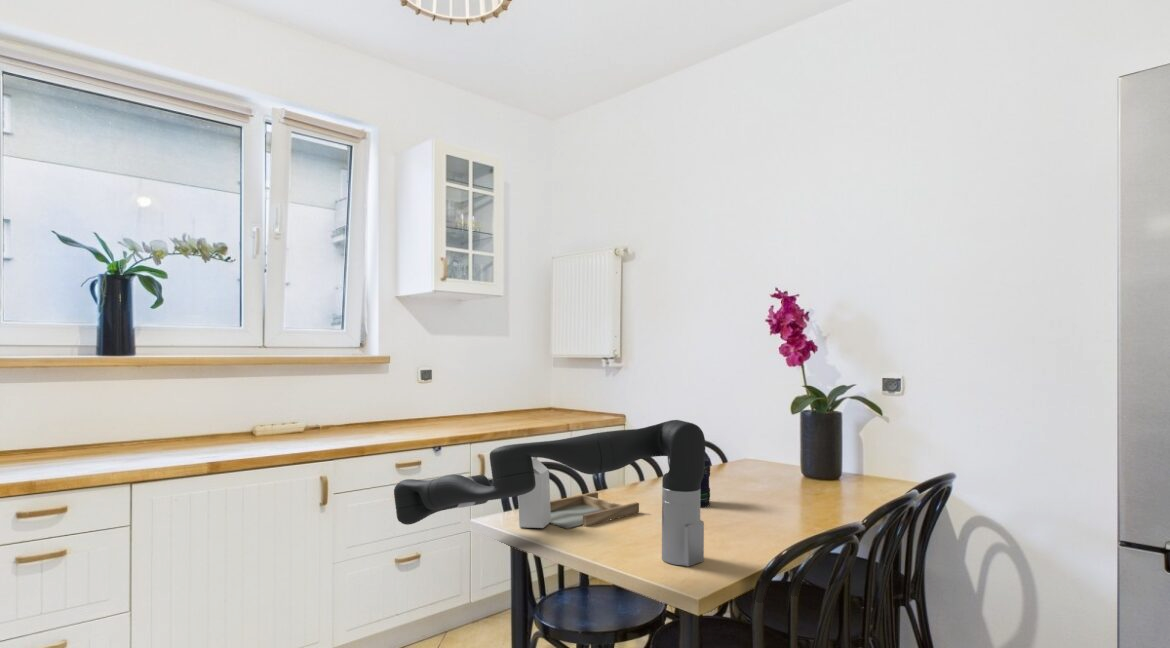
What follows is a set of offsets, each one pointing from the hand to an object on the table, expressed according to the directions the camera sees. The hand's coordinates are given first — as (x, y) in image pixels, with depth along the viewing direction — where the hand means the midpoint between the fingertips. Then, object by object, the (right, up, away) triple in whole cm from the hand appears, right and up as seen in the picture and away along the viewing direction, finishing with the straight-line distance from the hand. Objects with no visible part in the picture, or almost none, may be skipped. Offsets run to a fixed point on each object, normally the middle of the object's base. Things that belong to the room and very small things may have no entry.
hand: (521, 482), depth 173 cm
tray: (+17, -14, +16) cm, 27 cm away
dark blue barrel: (+54, -15, +31) cm, 64 cm away
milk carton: (+4, -13, +3) cm, 14 cm away
